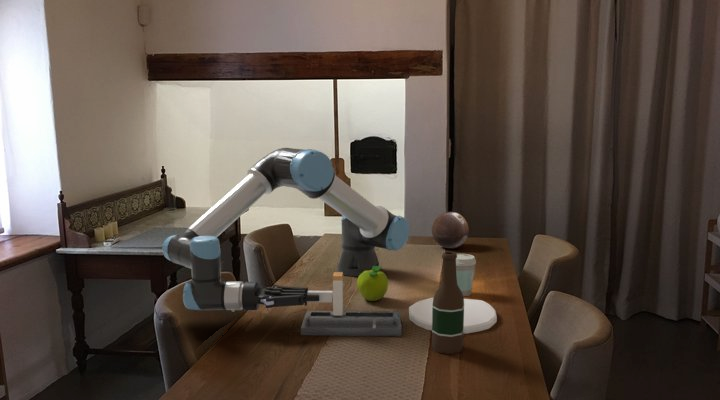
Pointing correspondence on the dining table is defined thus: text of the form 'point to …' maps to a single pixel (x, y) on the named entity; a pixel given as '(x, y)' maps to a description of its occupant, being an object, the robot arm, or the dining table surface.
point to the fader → (338, 295)
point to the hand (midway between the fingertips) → (332, 296)
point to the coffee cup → (465, 272)
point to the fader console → (352, 323)
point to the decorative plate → (475, 315)
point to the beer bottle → (448, 310)
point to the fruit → (372, 284)
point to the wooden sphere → (450, 230)
